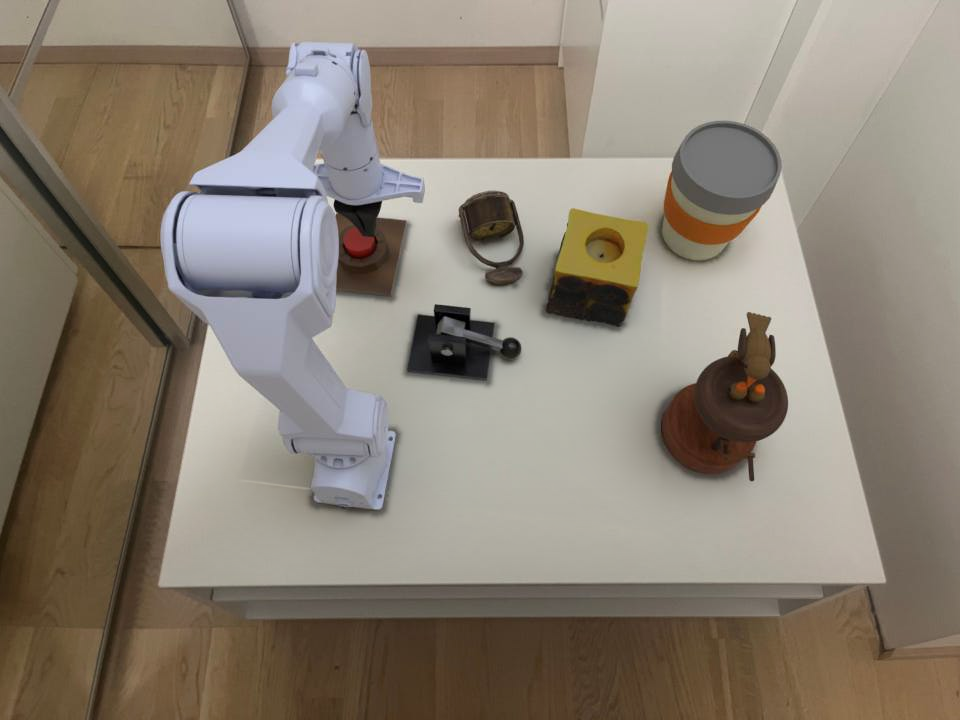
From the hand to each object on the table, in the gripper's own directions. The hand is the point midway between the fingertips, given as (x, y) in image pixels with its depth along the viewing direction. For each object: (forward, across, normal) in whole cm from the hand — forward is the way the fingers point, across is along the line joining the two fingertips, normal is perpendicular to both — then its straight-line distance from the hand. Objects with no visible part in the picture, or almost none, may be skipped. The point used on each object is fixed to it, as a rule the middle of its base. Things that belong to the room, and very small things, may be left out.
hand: (369, 230), depth 81 cm
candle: (+10, -28, -1) cm, 30 cm away
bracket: (+10, -11, +10) cm, 18 cm away
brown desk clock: (+10, -14, -6) cm, 19 cm away
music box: (+11, -43, +18) cm, 48 cm away
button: (+8, +3, -3) cm, 9 cm away
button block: (+10, +3, -3) cm, 11 cm away
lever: (+8, -14, +10) cm, 19 cm away
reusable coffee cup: (+10, -42, -12) cm, 45 cm away
